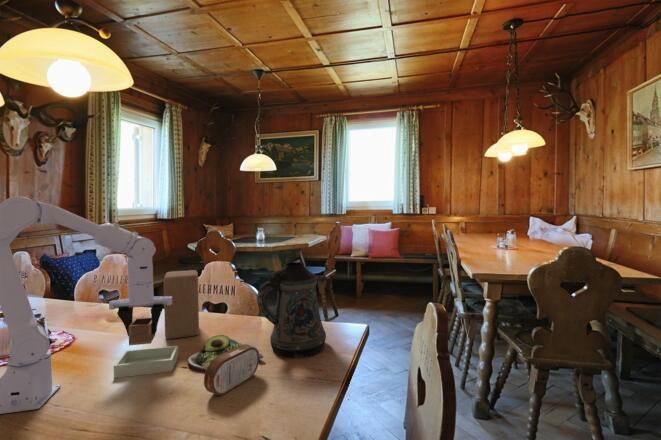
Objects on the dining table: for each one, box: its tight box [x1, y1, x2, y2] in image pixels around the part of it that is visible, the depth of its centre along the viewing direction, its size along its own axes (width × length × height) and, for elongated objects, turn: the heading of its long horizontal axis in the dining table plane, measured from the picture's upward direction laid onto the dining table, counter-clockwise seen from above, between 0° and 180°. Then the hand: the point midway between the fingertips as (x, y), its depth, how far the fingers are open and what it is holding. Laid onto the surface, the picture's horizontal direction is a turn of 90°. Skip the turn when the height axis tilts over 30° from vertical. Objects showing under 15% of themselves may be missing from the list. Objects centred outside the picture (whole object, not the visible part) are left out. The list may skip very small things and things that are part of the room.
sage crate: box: [113, 345, 179, 379], centre depth 91 cm, size 9×13×3 cm
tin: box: [203, 343, 260, 396], centre depth 81 cm, size 15×3×8 cm, turn 149°
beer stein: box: [256, 262, 327, 360], centre depth 101 cm, size 16×19×25 cm
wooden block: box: [163, 269, 200, 340], centre depth 114 cm, size 10×10×20 cm
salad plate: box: [187, 334, 264, 372], centre depth 95 cm, size 19×18×5 cm
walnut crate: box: [128, 317, 156, 346], centre depth 91 cm, size 6×5×5 cm
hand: (142, 333), depth 91 cm, fingers closed on walnut crate, 5 cm apart
